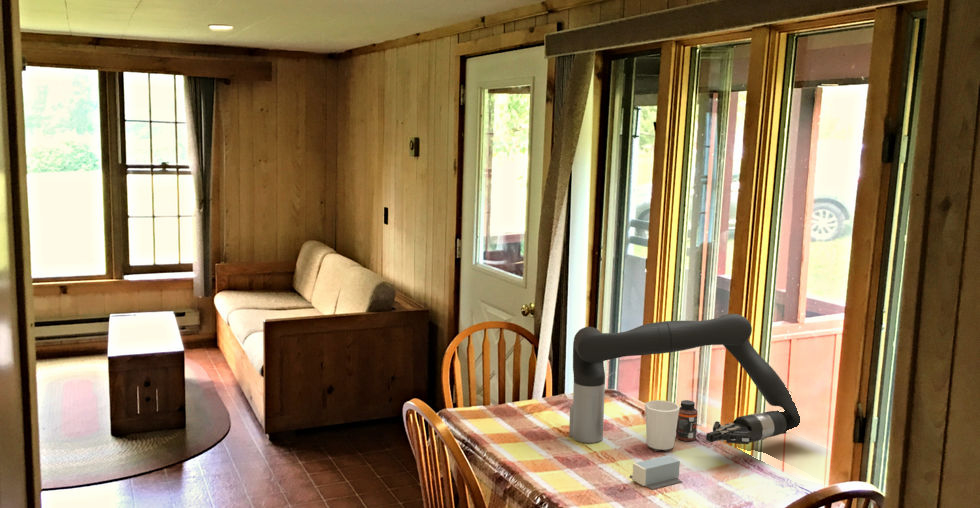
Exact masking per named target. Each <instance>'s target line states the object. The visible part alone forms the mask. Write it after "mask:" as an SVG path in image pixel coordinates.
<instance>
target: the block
mask: <svg viewBox="0 0 980 508" xmlns="http://www.w3.org/2000/svg"><path fill="white" fill-rule="evenodd" d="M680 462H681V461H680V460H678V459H677V458H675V457H673V456H671V455H668V454H667V455H663V456H658V457H655V458H654V457H653V458H651V459H646V460H641V461H637V462H634V463H632V475H633V476H632V478H631V479H632V481H634V482H635V483H638V484H639V485H641V486H642V487H646V485H650V484H654V483H658V482H662V481H666V480H670V479H674V478H677V479H679V477H680V464H681V463H680Z"/></svg>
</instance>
